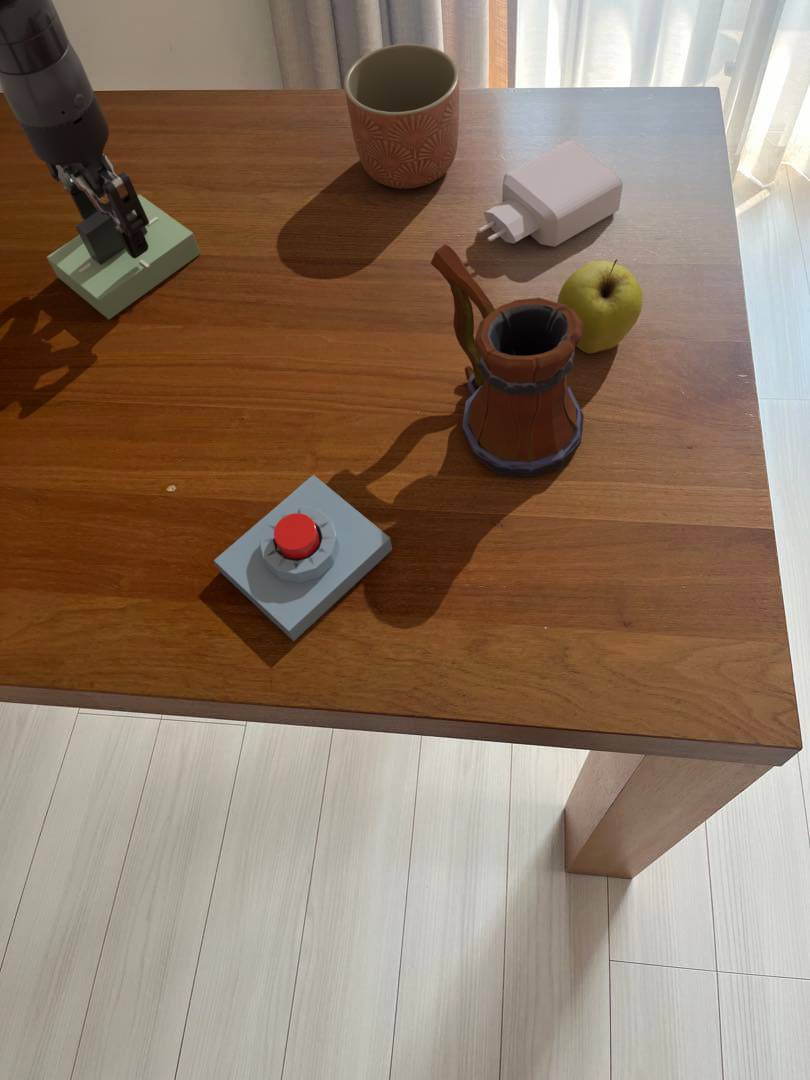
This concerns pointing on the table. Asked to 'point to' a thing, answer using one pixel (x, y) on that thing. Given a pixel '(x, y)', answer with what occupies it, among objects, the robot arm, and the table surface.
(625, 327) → the apple
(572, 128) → the table surface
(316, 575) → the button box
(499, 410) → the mug
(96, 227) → the dark gray bar
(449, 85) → the planter
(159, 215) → the panel
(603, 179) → the charger
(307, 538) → the button
